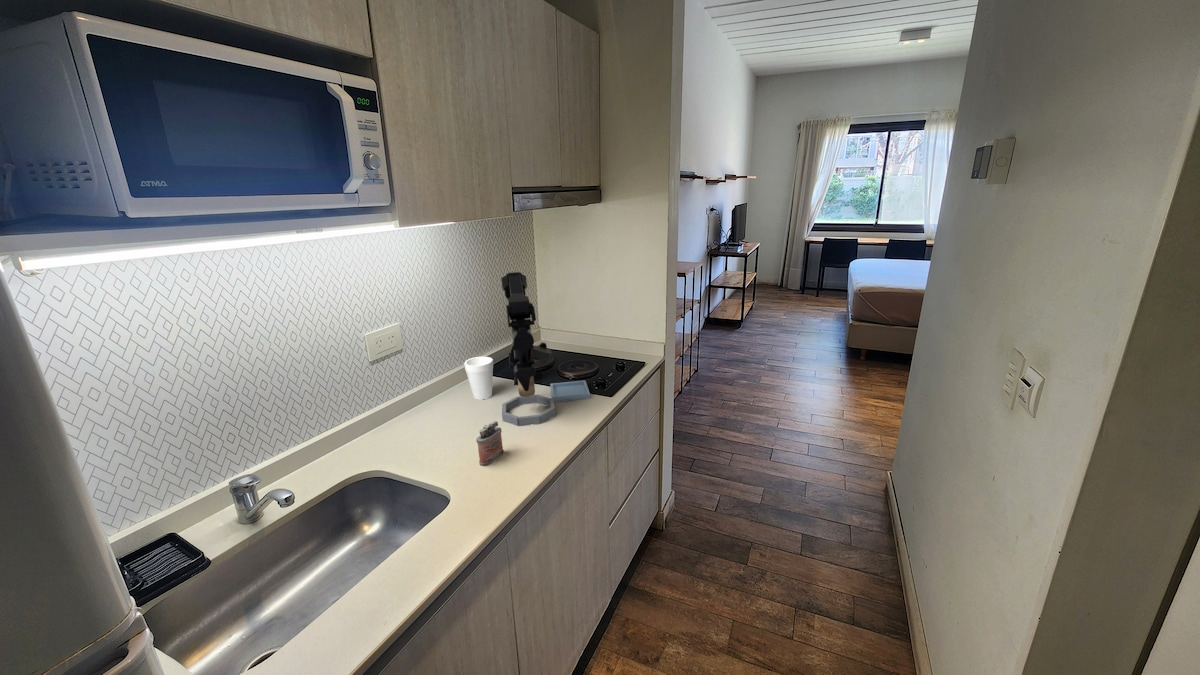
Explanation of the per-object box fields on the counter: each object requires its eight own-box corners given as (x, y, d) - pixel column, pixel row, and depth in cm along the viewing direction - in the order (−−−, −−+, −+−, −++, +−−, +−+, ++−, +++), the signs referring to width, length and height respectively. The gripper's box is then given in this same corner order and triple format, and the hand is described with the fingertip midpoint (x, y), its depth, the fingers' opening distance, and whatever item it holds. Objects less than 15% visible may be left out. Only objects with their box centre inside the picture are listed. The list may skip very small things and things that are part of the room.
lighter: (485, 467, 127) (481, 433, 124) (476, 464, 129) (472, 430, 126) (506, 453, 133) (503, 420, 130) (497, 449, 135) (494, 417, 132)
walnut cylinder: (519, 391, 156) (517, 370, 154) (534, 389, 157) (532, 369, 154) (519, 397, 151) (517, 376, 149) (535, 395, 152) (533, 375, 150)
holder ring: (503, 404, 163) (502, 397, 162) (552, 399, 165) (552, 392, 164) (502, 427, 147) (501, 420, 146) (556, 421, 150) (555, 414, 149)
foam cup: (499, 390, 174) (496, 356, 170) (492, 402, 165) (487, 366, 161) (474, 390, 175) (469, 356, 171) (464, 401, 166) (460, 366, 162)
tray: (550, 388, 174) (550, 383, 173) (585, 384, 176) (585, 380, 175) (552, 402, 163) (552, 397, 163) (590, 398, 165) (589, 393, 164)
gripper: (550, 347, 141) (554, 397, 146) (546, 329, 158) (550, 374, 163) (511, 351, 139) (516, 400, 144) (512, 332, 157) (516, 377, 162)
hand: (526, 387), depth 153 cm, fingers closed on walnut cylinder, 5 cm apart
